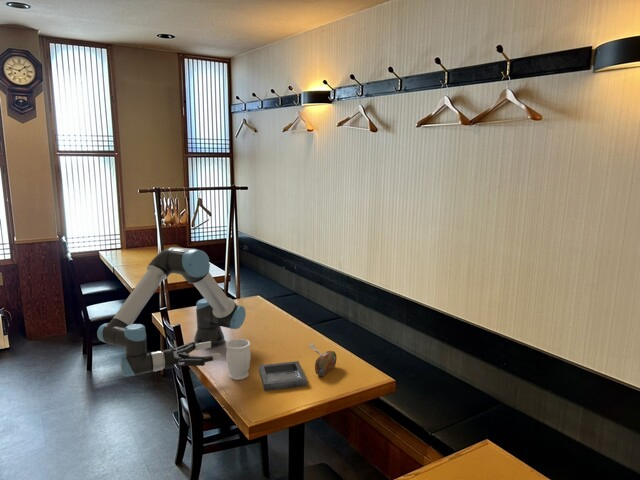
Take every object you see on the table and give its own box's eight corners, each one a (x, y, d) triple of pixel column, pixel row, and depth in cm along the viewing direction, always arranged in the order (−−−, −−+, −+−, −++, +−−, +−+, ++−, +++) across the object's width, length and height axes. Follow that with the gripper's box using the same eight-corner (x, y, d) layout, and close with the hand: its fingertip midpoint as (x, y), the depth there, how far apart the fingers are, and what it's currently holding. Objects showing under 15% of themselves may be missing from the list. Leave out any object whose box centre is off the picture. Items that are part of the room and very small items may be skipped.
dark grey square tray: (259, 371, 205) (258, 365, 205) (298, 367, 210) (298, 361, 209) (264, 391, 188) (264, 384, 187) (307, 386, 192) (307, 379, 192)
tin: (319, 379, 198) (319, 361, 197) (313, 377, 200) (313, 359, 199) (337, 366, 211) (337, 348, 209) (331, 364, 213) (331, 347, 211)
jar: (245, 382, 195) (245, 349, 192) (223, 380, 197) (221, 347, 194) (254, 371, 205) (253, 339, 202) (232, 369, 207) (231, 337, 205)
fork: (327, 366, 212) (327, 362, 211) (307, 346, 234) (307, 343, 233) (333, 364, 213) (333, 361, 213) (313, 345, 235) (313, 342, 234)
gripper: (157, 357, 194) (207, 348, 205) (169, 381, 173) (224, 370, 183) (156, 340, 193) (206, 332, 203) (169, 362, 172) (224, 352, 182)
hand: (215, 350), depth 193 cm, fingers open, 13 cm apart
